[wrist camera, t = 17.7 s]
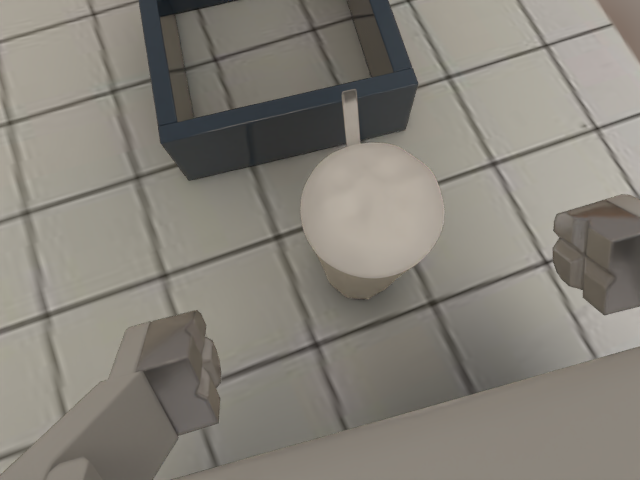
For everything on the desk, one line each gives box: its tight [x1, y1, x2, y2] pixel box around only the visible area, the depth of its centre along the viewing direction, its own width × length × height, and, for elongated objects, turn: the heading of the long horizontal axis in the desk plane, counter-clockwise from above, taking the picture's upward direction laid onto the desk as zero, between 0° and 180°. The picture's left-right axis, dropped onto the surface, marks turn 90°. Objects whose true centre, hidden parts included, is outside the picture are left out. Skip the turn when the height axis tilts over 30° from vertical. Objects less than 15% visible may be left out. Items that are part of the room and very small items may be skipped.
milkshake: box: [300, 89, 445, 300], centre depth 18 cm, size 4×5×10 cm
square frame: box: [138, 0, 418, 180], centre depth 24 cm, size 12×12×4 cm
